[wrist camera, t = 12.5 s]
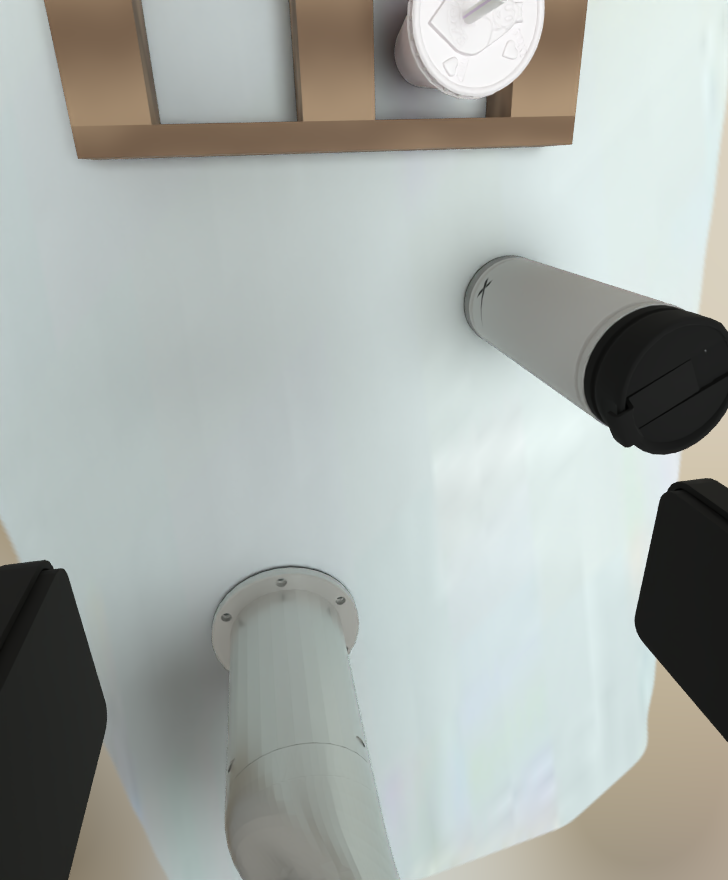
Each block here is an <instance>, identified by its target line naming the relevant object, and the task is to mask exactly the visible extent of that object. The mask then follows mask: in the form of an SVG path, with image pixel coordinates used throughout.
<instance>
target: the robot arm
mask: <svg viewBox="0 0 728 880" xmlns="http://www.w3.org/2000/svg"><path fill="white" fill-rule="evenodd" d="M635 627H636V631H637V633H638V635H639V637H640V639H641V640H642V642H643V643H644V644H645V645H646V646H647V648H648V649H649V650H650V651H651V652H652V653H653V655H654V656H655V657H656V658H657V659H658V661H659V662H660V663H661V664H662V665H663V666H664V667H665V669H666V670H667V671H668V672H669V673H670V675H671V676H672V677H673V678H674V679H675V681H676V682H677V683H678V684H679V685H680V686H681V688H682V689H683V690H684V691H685V692H686V694H687V695H688V696H689V697H690V698H691V699H692V701H693V702H694V703H695V704H696V705H697V707H698V708H699V709H700V710H701V711H702V712H703V713H704V715H705V716H706V717H707V718H708V719H709V721H710V722H711V723H712V724H713V725H714V727H715V728H716V729H717V730H718V731H719V732H720V733H721V735H722V736H723V737H724V738H725V740H726V741H727V742H728V488H727V487H725V486H724V485H722V484H721V483H719V482H718V481H716V480H713V479H711V478H710V479H708V478H705V479H696V480H688V481H680V482H676V483H673V484H672V485H671V486H670V487H669V488H668V491H667V492H666V493H664V494H663V495H662V496H661V499H660V502H659V506H658V511H657V516H656V520H655V525H654V530H653V534H652V539H651V544H650V548H649V553H648V558H647V562H646V567H645V572H644V576H643V581H642V586H641V590H640V595H639V600H638V604H637V609H636V614H635ZM358 630H359V619H358V613H357V609H356V606H355V602H354V600H353V598H352V597H351V595H350V593H349V591H348V590H347V589H346V588H345V587H344V586H343V585H342V584H341V583H340V582H338V581H337V580H335V579H334V578H332V577H331V576H329V575H326V574H324V573H321V572H319V571H315V570H311V569H306V568H293V567H289V568H279V569H273V570H269V571H266V572H262V573H259V574H257V575H255V576H252V577H250V578H248V579H247V580H245V581H243V582H242V583H240V584H239V585H237V586H236V587H235V588H234V589H233V590H232V591H230V592H229V593H228V594H227V595H226V597H225V598H224V599H223V601H222V602H221V603H220V605H219V607H218V609H217V611H216V613H215V615H214V620H213V625H212V644H213V650H214V652H215V654H216V656H217V659H218V660H219V662H220V663H221V664H222V665H223V667H224V668H225V669H226V670H227V671H229V702H228V733H227V764H226V796H225V833H226V840H227V844H228V849H229V852H230V855H231V857H232V860H233V863H234V865H235V867H236V869H237V871H238V872H239V874H240V876H241V878H242V879H243V880H400V877H399V874H398V871H397V868H396V865H395V862H394V858H393V855H392V851H391V847H390V844H389V840H388V836H387V832H386V828H385V824H384V819H383V815H382V811H381V807H380V802H379V797H378V793H377V788H376V783H375V779H374V775H373V771H372V766H371V762H370V757H369V752H368V747H367V743H366V738H365V733H364V728H363V724H362V719H361V714H360V710H359V705H358V700H357V695H356V691H355V686H354V681H353V676H352V672H351V667H350V662H349V657H348V654H349V653H350V651H351V649H352V648H353V646H354V644H355V642H356V639H357V635H358ZM106 723H107V709H106V703H105V699H104V696H103V692H102V689H101V686H100V682H99V679H98V676H97V672H96V669H95V665H94V662H93V659H92V655H91V652H90V649H89V645H88V642H87V638H86V635H85V632H84V628H83V625H82V622H81V618H80V615H79V611H78V608H77V605H76V601H75V598H74V595H73V591H72V588H71V584H70V581H69V578H68V575H67V573H66V571H65V570H64V569H62V568H60V569H53V566H52V565H51V563H50V562H49V561H46V560H42V561H33V562H25V563H17V564H9V565H4V566H1V567H0V880H68V878H69V873H70V870H71V866H72V862H73V858H74V853H75V850H76V846H77V842H78V838H79V834H80V830H81V826H82V822H83V818H84V814H85V810H86V806H87V802H88V798H89V794H90V790H91V786H92V782H93V778H94V774H95V770H96V766H97V762H98V758H99V754H100V750H101V746H102V743H103V739H104V735H105V730H106Z"/></svg>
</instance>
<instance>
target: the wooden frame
mask: <svg viewBox="0 0 728 880" xmlns="http://www.w3.org/2000/svg"><path fill="white" fill-rule="evenodd" d="M44 2H45V7H46V12H47V16H48V21H49V26H50V30H51V35H52V40H53V44H54V49H55V54H56V58H57V63H58V68H59V72H60V77H61V82H62V86H63V91H64V96H65V100H66V105H67V110H68V114H69V119H70V124H71V128H72V133H73V138H74V142H75V147H76V152H77V156H78V159H92V160H102V159H136V158H171V157H205V156H239V155H273V154H308V153H342V152H376V151H410V150H445V149H479V148H513V147H544V146H557V145H570V144H572V140H573V131H574V122H575V113H576V103H577V94H578V85H579V76H580V67H581V57H582V48H583V39H584V30H585V20H586V11H587V2H588V0H544V6H545V10H544V22H543V28H542V33H541V37H540V40H539V43H538V46H537V48H536V50H535V53H534V55H533V57H532V58H531V60H530V62H529V63H528V65H527V66H526V68H525V69H524V70H523V72H522V73H521V74H520V75H519V76H518V77H517V78H516V79H515V80H514V81H513V82H511V83H510V84H509V85H507V86H506V87H504V88H503V89H501V90H499V91H497V92H495V93H494V94H492V95H489V96H487V103H486V118H445V119H397V120H375V83H374V31H373V0H289V8H290V22H291V37H292V51H293V66H294V80H295V95H296V110H297V122H253V123H205V124H160V117H159V111H158V105H157V98H156V92H155V86H154V79H153V73H152V66H151V60H150V54H149V47H148V41H147V34H146V28H145V22H144V15H143V9H142V2H141V0H44Z"/></svg>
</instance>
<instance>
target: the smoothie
mask: <svg viewBox="0 0 728 880" xmlns="http://www.w3.org/2000/svg"><path fill="white" fill-rule="evenodd" d="M544 10H545V6H544V0H409V2H408V6H407V15H406V17H405V20H404V22H403V24H402V26H401V29H400V31H399V33H398V36H397V38H396V42H395V51H394V53H395V61H396V65H397V68H398V70H399V72H400V73H401V75H402V76H403V78H404V79H405V80H406V81H408V82H409V83H410V84H412V85H414V86H417V87H423V88H432V89H439V90H440V91H442V92H443V93H445V94H447V95H450V96H453V97H456V98H459V99H478V98H482V97H485V96H489V95H492V94H494V93H495V92H497V91H499V90H501V89H503V88H504V87H506V86H507V85H509V84H510V83H511V82H513V81H514V80H515V79H516V78H517V77H518V76H519V75H520V74H521V73H522V72H523V70H524V69H525V68H526V66H527V65H528V63H529V62H530V60H531V58H532V57H533V55H534V53H535V50H536V48H537V46H538V43H539V40H540V37H541V33H542V28H543V22H544Z"/></svg>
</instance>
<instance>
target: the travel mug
mask: <svg viewBox="0 0 728 880" xmlns="http://www.w3.org/2000/svg"><path fill="white" fill-rule="evenodd" d="M464 307H465V315H466V318H467V321H468V323H469V325H470V327H471V328H472V330H473V331H474V332H475V333H476V334H477V335H478V336H480V337H481V338H482V339H484V340H485V341H487V342H488V343H489V344H491V345H492V346H494V347H495V348H496V349H498V350H499V351H501V352H502V353H503V354H505V355H506V356H508V357H509V358H510V359H512V360H513V361H515V362H516V363H517V364H519V365H520V366H522V367H523V368H524V369H526V370H527V371H529V372H530V373H531V374H533V375H534V376H536V377H537V378H538V379H540V380H541V381H543V382H544V383H545V384H547V385H548V386H550V387H551V388H552V389H554V390H555V391H557V392H558V393H560V394H561V395H562V396H564V397H565V398H567V399H568V400H569V401H571V402H572V403H574V404H575V405H576V406H578V407H579V408H581V409H582V410H583V411H585V412H586V413H588V414H589V415H591V416H592V417H593V418H595V419H596V420H597V421H599V422H600V423H602V424H604V425H605V426H607V427H609V428H610V431H611V433H612V435H613V438H614V439H615V440H616V441H617V442H618V443H620V444H621V445H623V446H624V447H631V446H633V445H635V446H636V447H638V448H639V449H641V450H642V451H645V452H648V453H651V454H661V455H665V454H671V453H676V452H679V451H682V450H684V449H686V448H689V447H690V446H692V445H694V444H695V443H697V442H698V441H700V440H701V439H702V438H704V437H705V436H706V435H707V434H708V433H709V432H710V431H711V430H712V429H713V428H714V427H715V426H716V425H717V424H718V422H719V421H720V420H721V418H722V417H723V415H724V414H725V413H726V411H727V409H728V331H727V330H726V329H725V327H724V326H723V325H722V323H720V322H718V321H716V320H713V319H711V318H708V317H705V316H701V315H698V314H695V313H692V312H688V311H685V310H684V309H681V308H679V307H677V306H675V305H672V304H667V303H664V302H662V301H659V300H656V299H653V298H649V297H646V296H643V295H640V294H637V293H634V292H631V291H627V290H624V289H621V288H618V287H615V286H612V285H608V284H605V283H602V282H599V281H596V280H593V279H589V278H586V277H583V276H580V275H577V274H574V273H571V272H567V271H564V270H561V269H558V268H555V267H552V266H548V265H545V264H542V263H539V262H536V261H533V260H529V259H526V258H523V257H519V256H503V257H500V258H496V259H494V260H492V261H490V262H489V263H487V264H486V265H484V266H483V267H482V268H481V269H480V270H479V271H478V272H477V273H476V274H475V276H474V277H473V279H472V280H471V282H470V284H469V286H468V289H467V292H466V296H465V306H464Z"/></svg>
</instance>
